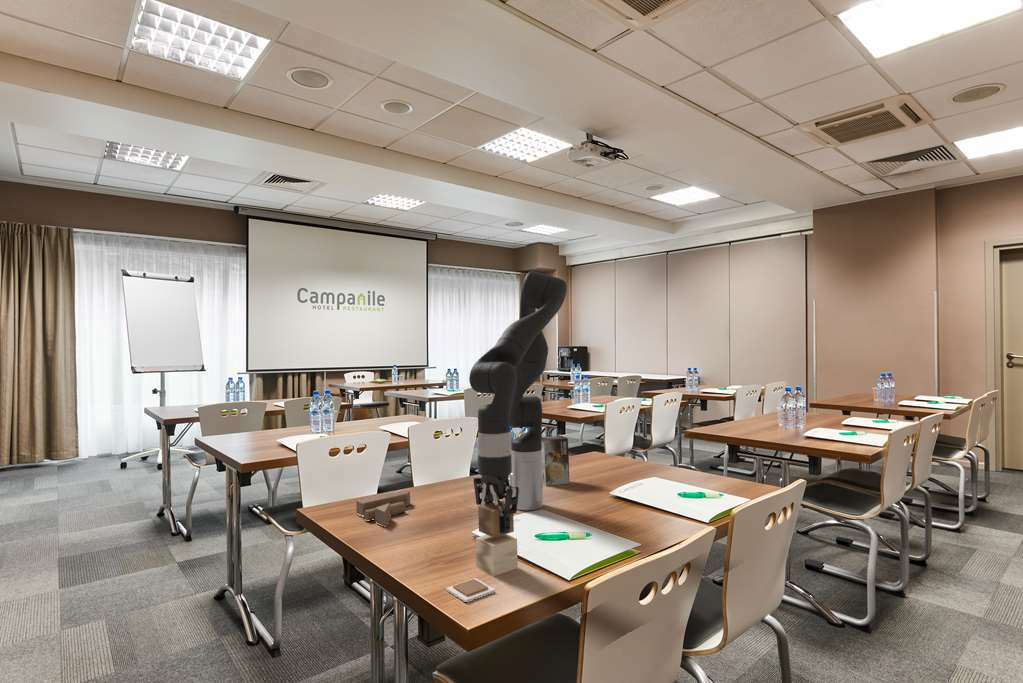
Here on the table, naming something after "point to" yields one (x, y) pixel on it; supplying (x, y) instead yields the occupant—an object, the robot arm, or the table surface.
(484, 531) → the walnut cube
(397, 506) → the wooden block set
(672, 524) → the table surface
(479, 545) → the beech cube
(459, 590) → the walnut tile
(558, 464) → the coffee box
